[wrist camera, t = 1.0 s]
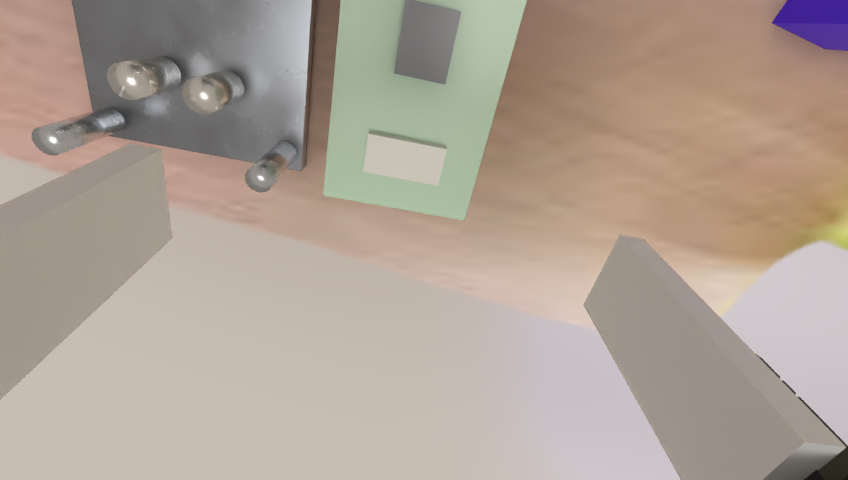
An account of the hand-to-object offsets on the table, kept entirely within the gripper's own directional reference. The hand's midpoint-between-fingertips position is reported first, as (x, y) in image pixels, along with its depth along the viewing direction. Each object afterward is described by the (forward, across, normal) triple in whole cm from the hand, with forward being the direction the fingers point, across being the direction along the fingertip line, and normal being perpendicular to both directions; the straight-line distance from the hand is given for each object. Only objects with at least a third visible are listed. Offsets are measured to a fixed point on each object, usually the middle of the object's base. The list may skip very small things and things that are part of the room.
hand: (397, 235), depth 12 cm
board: (+13, 0, +2) cm, 13 cm away
